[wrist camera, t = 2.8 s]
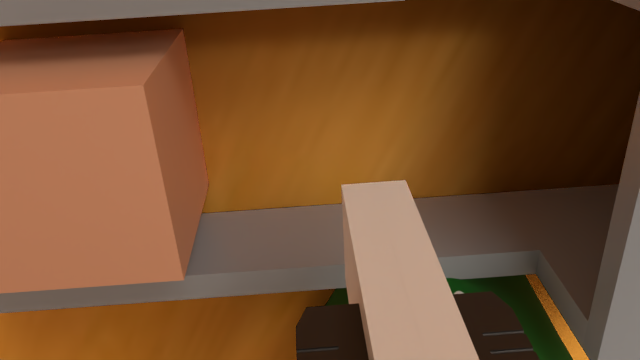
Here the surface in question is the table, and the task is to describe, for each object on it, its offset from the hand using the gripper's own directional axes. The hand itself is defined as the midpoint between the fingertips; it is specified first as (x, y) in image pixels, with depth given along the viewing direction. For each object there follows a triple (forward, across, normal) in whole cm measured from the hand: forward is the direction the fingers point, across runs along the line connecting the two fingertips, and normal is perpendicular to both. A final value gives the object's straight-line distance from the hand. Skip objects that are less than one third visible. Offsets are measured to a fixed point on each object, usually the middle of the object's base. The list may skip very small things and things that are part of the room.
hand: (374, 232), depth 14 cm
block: (+8, -8, 0) cm, 12 cm away
